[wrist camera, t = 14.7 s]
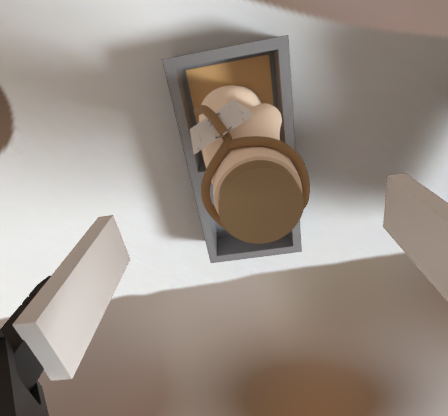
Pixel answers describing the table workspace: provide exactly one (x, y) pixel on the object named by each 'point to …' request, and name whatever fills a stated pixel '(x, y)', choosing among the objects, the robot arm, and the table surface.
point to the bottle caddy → (186, 119)
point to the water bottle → (248, 166)
